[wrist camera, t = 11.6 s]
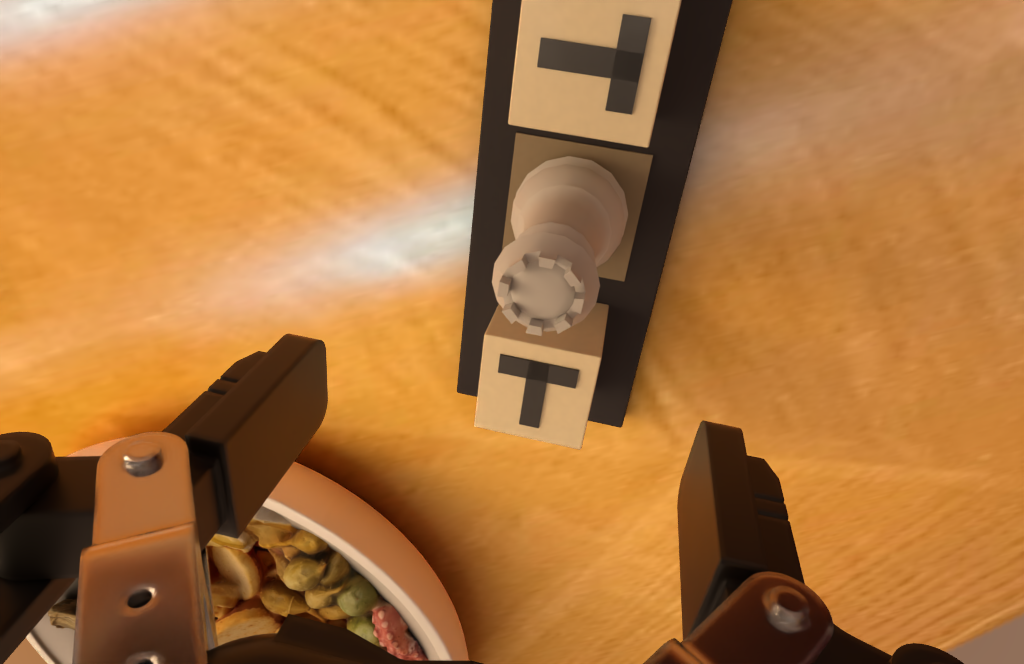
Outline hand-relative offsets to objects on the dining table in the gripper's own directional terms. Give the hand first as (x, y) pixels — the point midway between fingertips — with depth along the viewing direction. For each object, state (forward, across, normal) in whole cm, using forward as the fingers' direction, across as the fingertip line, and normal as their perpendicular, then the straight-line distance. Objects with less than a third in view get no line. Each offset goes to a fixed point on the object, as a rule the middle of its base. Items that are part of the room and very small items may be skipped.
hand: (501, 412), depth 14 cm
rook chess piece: (+14, 0, 0) cm, 14 cm away
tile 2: (+14, 0, -6) cm, 15 cm away
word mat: (+15, 0, 0) cm, 15 cm away
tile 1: (+14, 0, +6) cm, 15 cm away
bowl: (+15, +16, +30) cm, 37 cm away
